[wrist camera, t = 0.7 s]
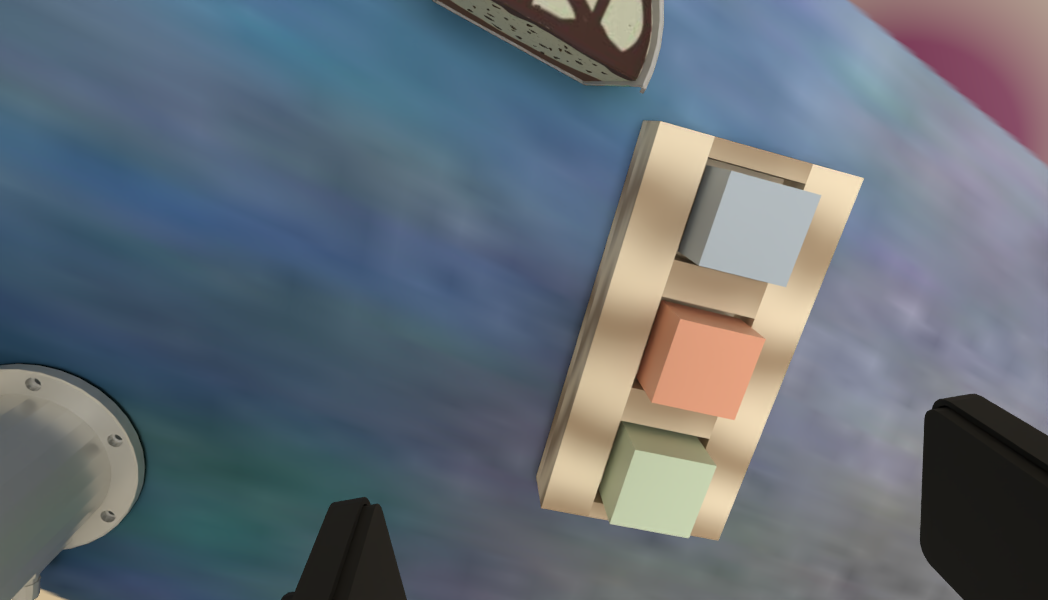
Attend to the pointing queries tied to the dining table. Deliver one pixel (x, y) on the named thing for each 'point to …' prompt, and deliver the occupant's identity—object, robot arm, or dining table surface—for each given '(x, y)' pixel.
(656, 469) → the sage button
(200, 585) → the dining table surface
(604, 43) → the food container
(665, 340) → the terracotta button
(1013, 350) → the dining table surface
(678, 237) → the button panel
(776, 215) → the slate button
